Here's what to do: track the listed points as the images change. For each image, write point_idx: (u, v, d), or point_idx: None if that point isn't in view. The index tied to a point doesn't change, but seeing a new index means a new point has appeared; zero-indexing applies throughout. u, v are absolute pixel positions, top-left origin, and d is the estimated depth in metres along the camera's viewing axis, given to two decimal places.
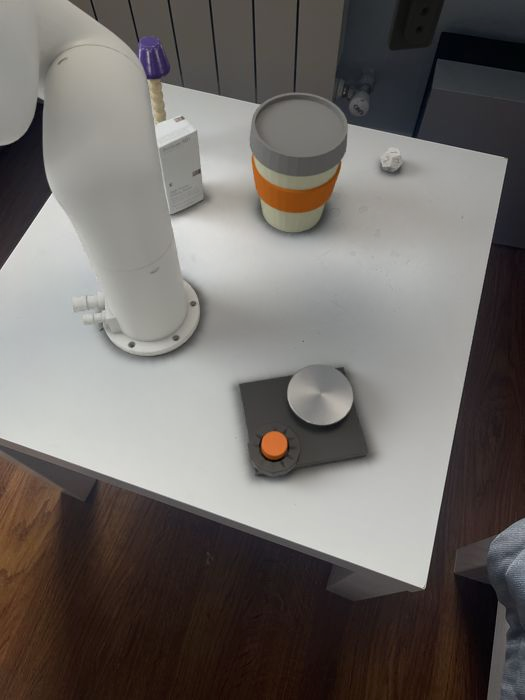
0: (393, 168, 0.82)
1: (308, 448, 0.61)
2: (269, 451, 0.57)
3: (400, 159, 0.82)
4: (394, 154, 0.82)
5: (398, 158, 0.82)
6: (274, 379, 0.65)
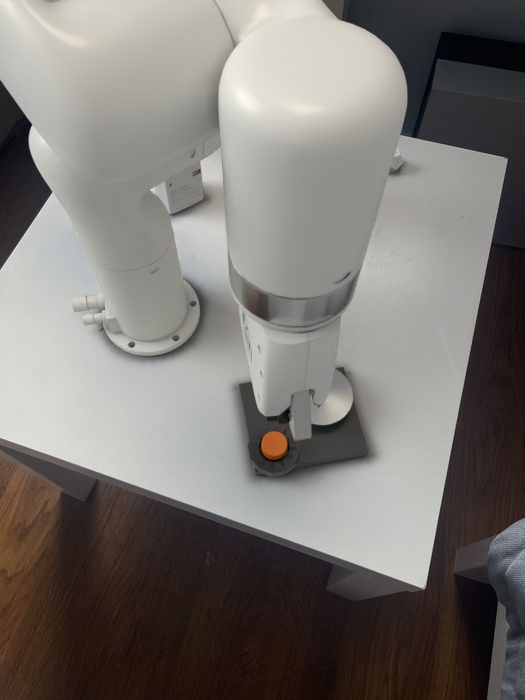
0: (393, 168, 0.82)
1: (308, 448, 0.61)
2: (269, 451, 0.57)
3: (400, 159, 0.82)
4: None
5: (398, 158, 0.82)
6: None
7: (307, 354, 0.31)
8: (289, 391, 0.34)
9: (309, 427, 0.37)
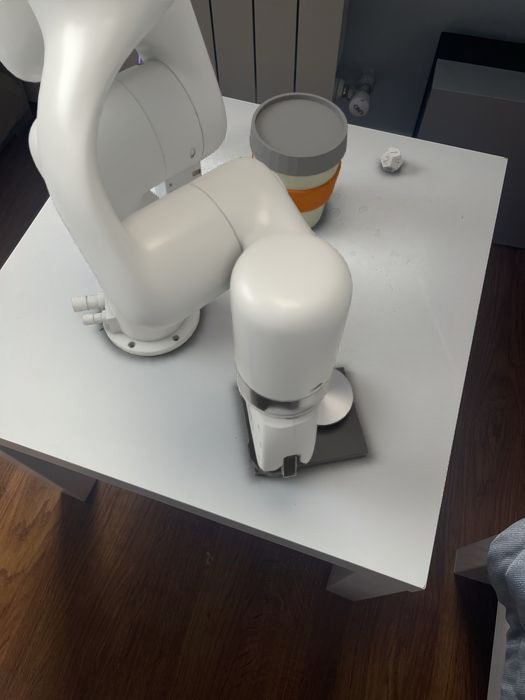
0: (393, 168, 0.82)
1: None
2: None
3: (400, 159, 0.82)
4: (394, 154, 0.82)
5: (398, 158, 0.82)
6: None
7: (293, 433, 0.42)
8: (281, 456, 0.45)
9: (295, 470, 0.49)
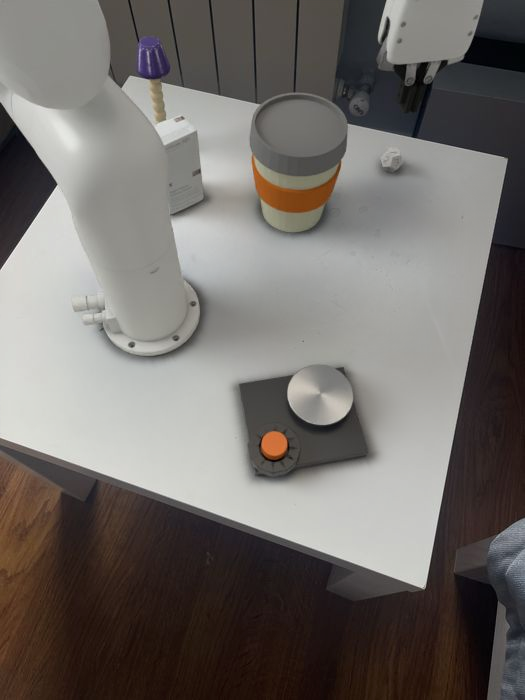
0: (393, 168, 0.82)
1: (308, 448, 0.61)
2: (269, 451, 0.57)
3: (400, 159, 0.82)
4: (394, 154, 0.82)
5: (398, 158, 0.82)
6: (274, 379, 0.65)
7: None
8: (386, 12, 0.60)
9: (381, 58, 0.63)
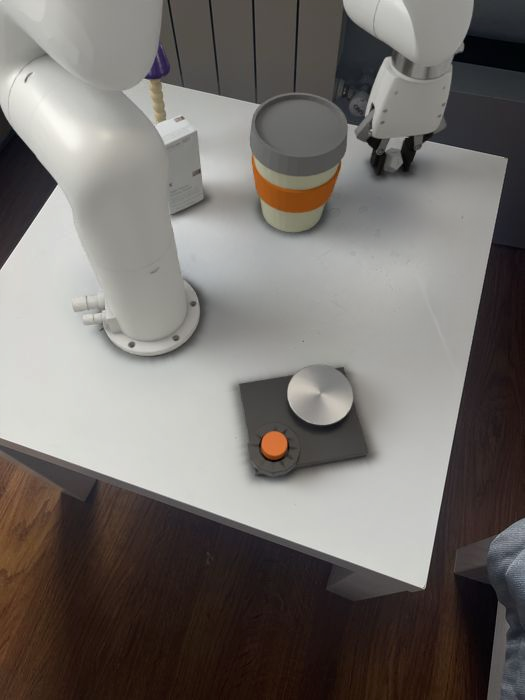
0: (393, 168, 0.82)
1: (308, 448, 0.61)
2: (269, 451, 0.57)
3: (400, 159, 0.82)
4: (394, 154, 0.82)
5: (398, 158, 0.82)
6: (274, 379, 0.65)
7: (382, 76, 0.70)
8: (372, 99, 0.74)
9: (360, 130, 0.76)
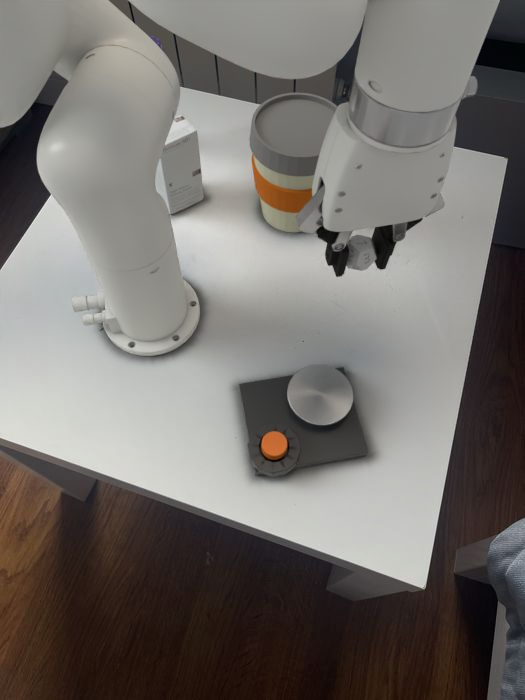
0: (361, 267, 0.52)
1: (308, 448, 0.61)
2: (269, 451, 0.57)
3: (372, 254, 0.52)
4: (363, 246, 0.51)
5: (368, 253, 0.51)
6: (274, 379, 0.65)
7: (335, 137, 0.40)
8: (320, 170, 0.44)
9: (304, 219, 0.46)
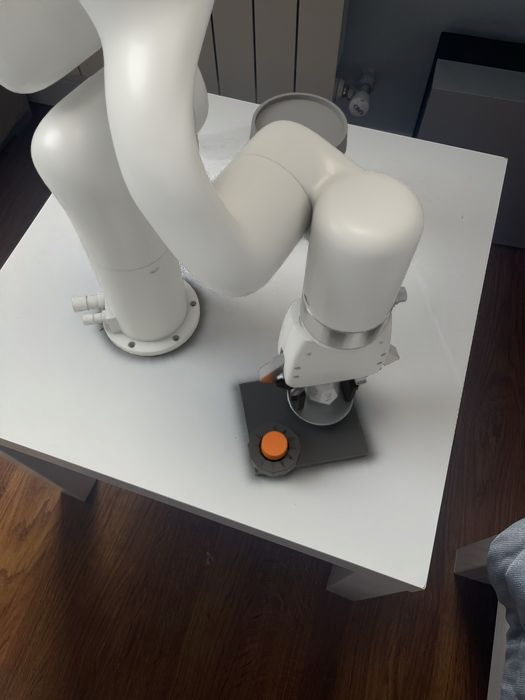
0: (324, 403, 0.60)
1: (308, 448, 0.61)
2: (269, 451, 0.57)
3: (333, 393, 0.59)
4: (325, 387, 0.59)
5: (330, 392, 0.59)
6: None
7: (289, 329, 0.47)
8: (281, 343, 0.51)
9: (265, 374, 0.53)
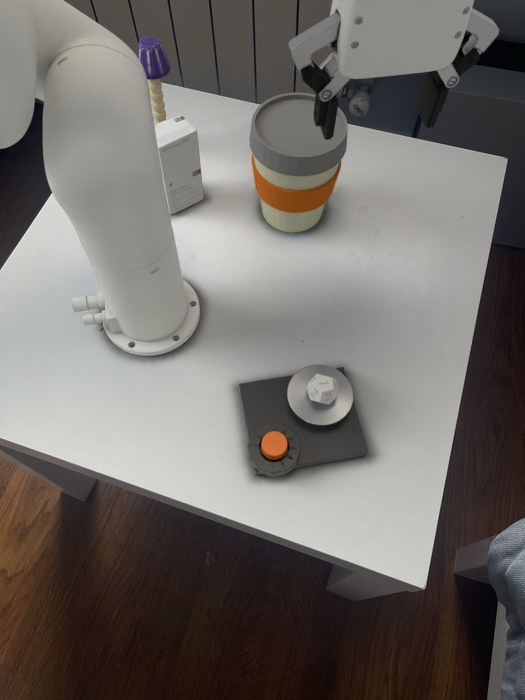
0: (324, 403, 0.60)
1: (308, 448, 0.61)
2: (269, 451, 0.57)
3: (333, 393, 0.59)
4: (325, 387, 0.59)
5: (330, 392, 0.59)
6: (274, 379, 0.65)
7: None
8: (335, 2, 0.41)
9: (303, 41, 0.41)
